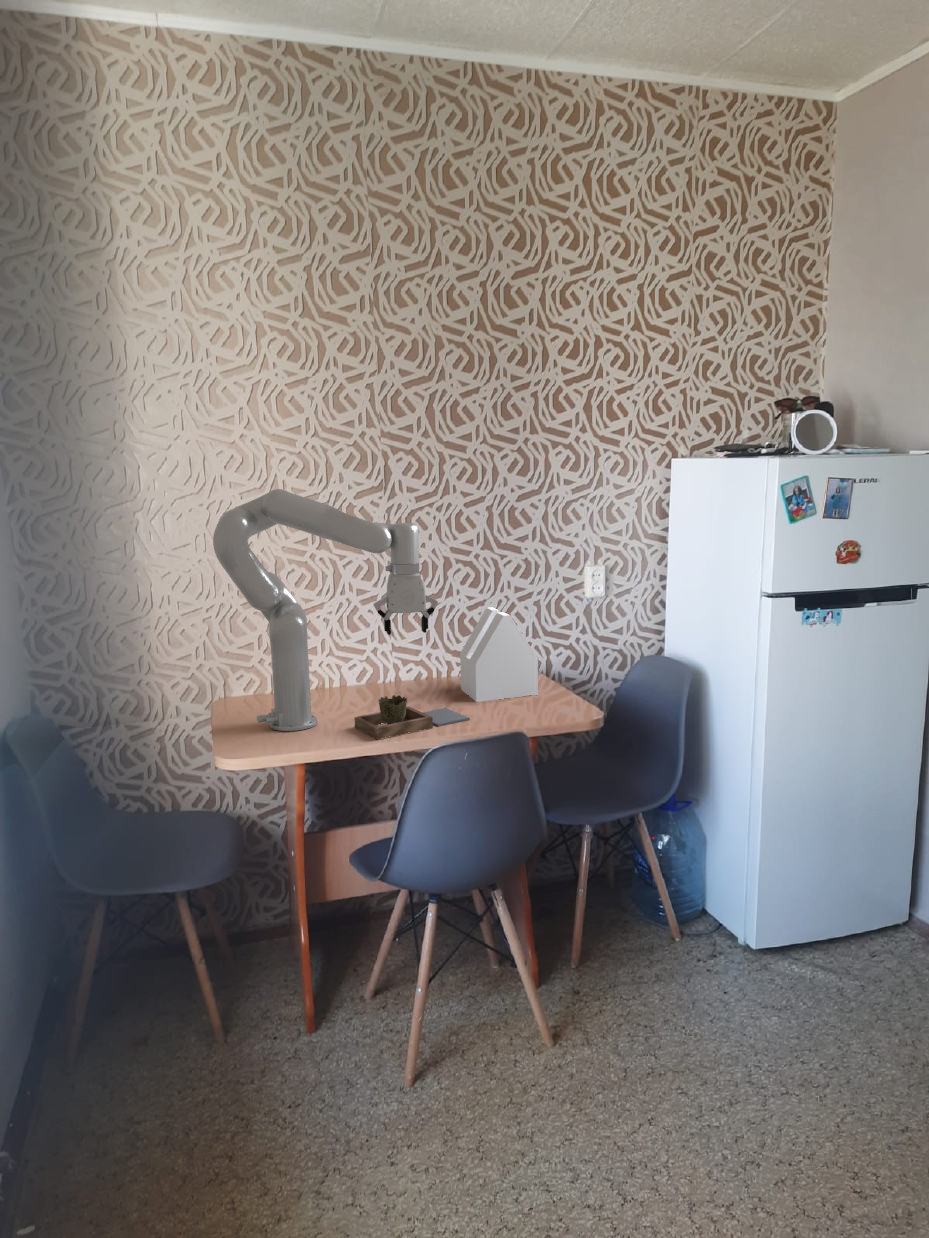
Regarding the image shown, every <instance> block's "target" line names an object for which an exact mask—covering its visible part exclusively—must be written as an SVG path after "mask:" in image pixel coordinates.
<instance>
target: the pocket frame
mask: <svg viewBox="0 0 929 1238" xmlns="http://www.w3.org/2000/svg"><path fill="white" fill-rule="evenodd" d="M404 719H405V720H403V721H402V722H399V723H394V724H389V725H387V723H386V722H384V721H383V719H382V717H381V713H380V711H379V712H374V713H370V714H369V713H368V714H365V715H364V714H363V715H359V716H355V717H354V728H355V730H357V729H358V731H359V730H360V731H359V732H361V731H362V732H361V733H363V732H364V734H365V733H366V734H365V735H367V734H368V735H367V736H369V737H371V736H372V737H374V738H375V739H374V738H373V739H374V740H376V739H380V740H382V739H381V738H385V737H389V736H394V737H397V736H396V735H399V736H401V735H400V734H403V735H405V734H404V733H408V732H412V733H416V731H417V732H420V731H419V730H422V731H425V730H424V729H426V730H430V729H433V728H434V727H433V718H432V717H431V716H429V715H427V714H424V713H422V711H419V710H417V709H415V708H413V707H410V706H407V707H406V715H405V718H404ZM408 719H409V720H408ZM381 723H385V724H386V725H384V724H383V725H382V724H381ZM378 724H380V725H378ZM408 734H409V733H408ZM372 737H371V738H372ZM389 738H390V737H389ZM385 739H386V738H385Z"/></svg>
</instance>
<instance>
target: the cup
mask: <svg viewBox="0 0 929 1238" xmlns="http://www.w3.org/2000/svg"><path fill="white" fill-rule="evenodd" d="M407 704H408V698H407V697H405V696H402V695H400V694H399V695H397V696H396V695H395V694H394V695H392V696H391V698H388V696H387V695H385V696H384V697H383V696H380V698H378V705H379V712H380V713H381V717H382V719H383V721H384V722H386V723H385V724H386V725H389V724H394V723H399V722H404V721H405V720H404V718H405V715H406V707H408V705H407Z"/></svg>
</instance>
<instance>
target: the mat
mask: <svg viewBox="0 0 929 1238" xmlns="http://www.w3.org/2000/svg"><path fill="white" fill-rule="evenodd" d="M421 712H422V711H421ZM422 713H424V714H427V715H429V716H431V717H432V718H433V725H434V726H436V727H438V728H440V727H442V726H447V725H453V724H456V723H461V722H466V721H470V717H468V716H466V715H464V714H461V713H459V712H456V711H454V710H451V709H449V708H447V707H443V708H439V709H434V710H428V711H423V712H422Z"/></svg>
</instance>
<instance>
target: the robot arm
mask: <svg viewBox="0 0 929 1238" xmlns="http://www.w3.org/2000/svg"><path fill="white" fill-rule="evenodd" d="M277 525H282V526H285V527H289V528H292V529H295V530H298V531H302V532H305V533H308V534H311V535H314V536H317V537H319V538H323V539H325V540H330V541H333V542H338V543H340V544H342V545H345V546H349V547H352V548H355V549H358V550H361V551H364V552H368V553H371V554H377V555H378V554H383V553H384V552H386V551H388V549H389V550H390V564H389V565H386V566H385V571H386V572H389V573H390V574H389V575H388V578H387V584H386V586H387V587H386V596H383V598H381V599H379V600H377V601H376V602H374V603H373V607H374V609H375V611H376V612H377V614H378V615H379V616H381V618H382V619H383V620H384V621H383V622H384V623H383V627H384V628H383V629H384V631H385V632H386V634H387V635H388V636H390V635H392V622H391V621H392V620H391V619H390V618H391V617H392V615H393V614H409V613H413V614H414V613H421V614H422V616H421V619H420V621H421V623H420V624H421V632H423V633H424V634H425V633H427V630H428V629H429V618H430V616H431V615H432V614H434V612H435V609H436V608H437V606H438V604H439V602H438V600H436V599H434V598H432V597H430V596H428V595H426V589H425V588H426V587H425V581H424V576H423V574H422V573H420V542H419V541H420V540H419V537H420V536H419V535H420V534H419V532H420V531H419V526H418V525H417V524H416V523H412V522H397V523H396V522H395V523H385V522H383V523H382V522H378V521H377V522H372V521H369V520H365V519H363V518H360V517H356V516H353V515H351V514H348V513H346V512H344V511H341V510H340V509H338V508H336V507H334V506H332V505H329V504H328V503H324V502H320V501H317V500H314V499H311V498H308V497H305V496H302V495H299V494H296V493H292V492H289V491H288V490H285V489H282V488H275V489H272V490H270V491H269V492H266V493H265V494H263V495H261V496H259V497H257V498H255V499H252V500H250V501H248V502H246V503H244V504H241V505H239V506H236V507H234V508H232V509H229V510H227V511H226V512H224V513H223V514H222V516H221V517H220V518H219V519H218V522H217V524H216V527H215V529H214V532H213V537H212V539H213V540H212V546H213V550H214V551H213V552H214V554H215V556H216V558H217V560H218V562H219V563H220V565H221V566H222V569H224V570H225V572H226V573H227V575H228V576H229V578H230V579H231V580H232V582H233V583H234V584H235V586H236V587H237V589H238V591H240V593H241V594H242V595H243V597H244V598H245V600H246V601H247V603H248V604H249V606H250V607H252V608H253V609H255V610H258V611H260V613H261V614H262V615H263V617H264V618H265V619H266V620H267V622H268V623H269V627H268V630H269V631H268V633H269V635H268V636H269V643H270V654H271V659H270V660H271V670H272V686H273V703H274V708H271V709H270V710H271V711H270V712H268V713H267V714H260V715H257V716H256V719H257V720H256V721H257V723H259V724H260V723H266V724H269V727H270V728H271V729H272V730H275V731H279V732H297V731H303V730H307V729H310V728H313V727H315V726H316V725H317V724H318V717H316V716H315V715H313V714H312V705H311V704H312V703H311V701H312V699H311V684H310V681H311V680H310V666H309V664H310V663H309V649H308V646H309V645H308V619H307V615H306V611H305V610H304V609H303V607H302V606H301V604H300V603H299V602H298V600H297V599H296V598H295V597H294V595H293V594H292V592H291V591H290V590H289V589H288V587H287V586H286V585H285V583H284V582H283V581H282V579H280V578H279V576H278V575H276V574H275V573H273V572H271V571H268V570H267V569H266V568H265V566H264V565H263V564H262V562H261V561H260V560H259V558H258V557H257V555H256V554H255V553H254V551H253V550H252V549H251V547H250V546H249V539H250V538H251V537H253V536H255V535H256V534H258V533H262V532H263V531H265V530H268V529H270V528H273V527H274V526H277ZM427 602H428V603H430V605H429V607H428V608H427ZM384 604H385V605H386V609H387V610H386V611H385V612H384V611H383V610H382V608H381V606H383V605H384ZM426 608H427V609H426Z"/></svg>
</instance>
